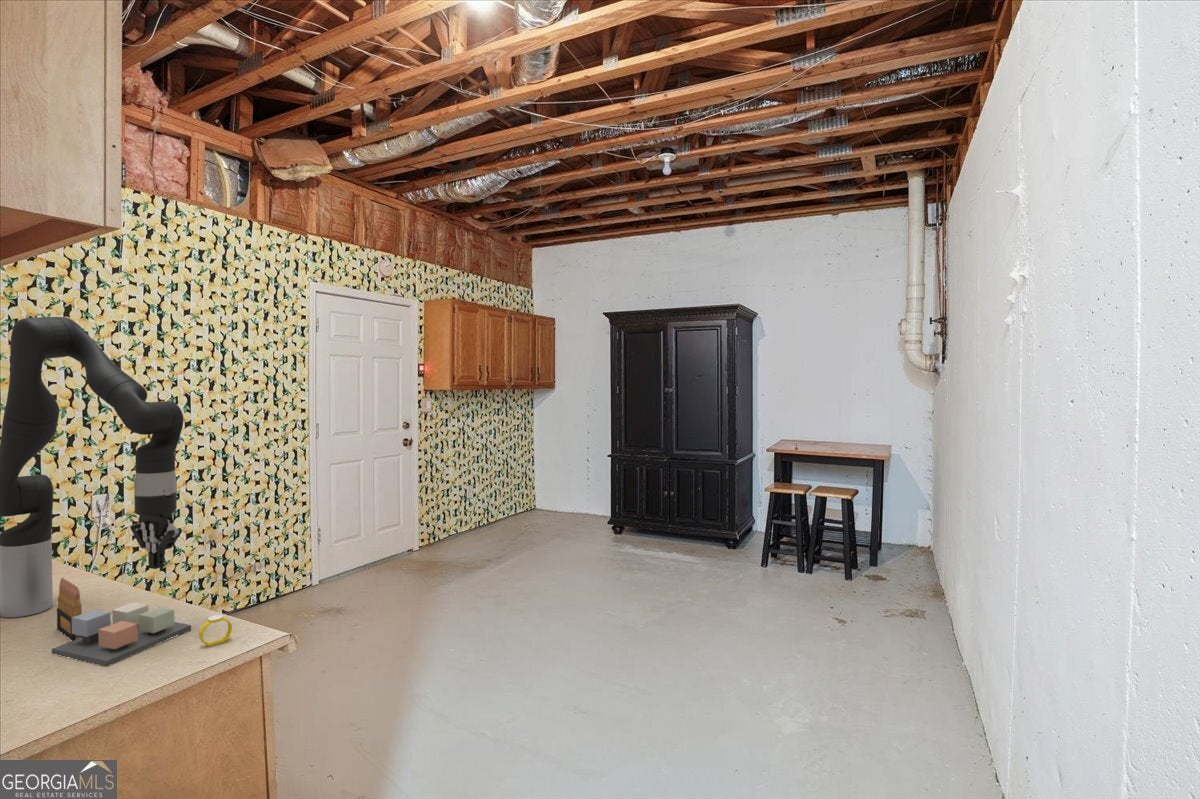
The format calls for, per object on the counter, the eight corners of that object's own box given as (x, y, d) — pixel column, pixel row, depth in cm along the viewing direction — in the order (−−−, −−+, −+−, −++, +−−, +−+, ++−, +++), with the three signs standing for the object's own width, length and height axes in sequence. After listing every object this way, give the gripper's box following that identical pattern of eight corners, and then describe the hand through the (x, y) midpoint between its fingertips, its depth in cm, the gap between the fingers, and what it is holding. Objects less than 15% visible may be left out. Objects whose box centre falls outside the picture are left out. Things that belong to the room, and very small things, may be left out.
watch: (203, 651, 127) (200, 624, 127) (199, 646, 129) (196, 620, 128) (234, 639, 132) (231, 614, 131) (229, 636, 134) (227, 610, 133)
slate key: (71, 633, 126) (71, 617, 125) (95, 625, 130) (95, 609, 130) (87, 636, 124) (86, 620, 124) (110, 628, 129) (110, 612, 129)
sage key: (138, 630, 131) (138, 614, 131) (159, 621, 135) (159, 607, 135) (153, 633, 130) (153, 617, 130) (174, 624, 134) (174, 609, 134)
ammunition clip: (84, 638, 131) (83, 585, 130) (73, 641, 129) (72, 588, 129) (67, 626, 137) (66, 575, 136) (56, 629, 135) (55, 578, 135)
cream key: (112, 625, 133) (112, 609, 133) (133, 617, 138) (133, 602, 138) (127, 628, 132) (127, 612, 132) (148, 619, 136) (148, 605, 136)
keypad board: (51, 654, 124) (51, 636, 124) (140, 620, 141) (140, 604, 141) (106, 666, 119) (106, 647, 119) (191, 630, 136) (191, 613, 136)
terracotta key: (98, 645, 123) (98, 629, 123) (122, 636, 128) (121, 620, 128) (114, 649, 122) (114, 632, 122) (137, 639, 126) (137, 623, 126)
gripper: (116, 491, 130) (117, 569, 130) (161, 497, 126) (161, 577, 127) (150, 485, 137) (151, 559, 138) (194, 490, 133) (194, 566, 134)
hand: (156, 567), depth 132 cm, fingers closed
